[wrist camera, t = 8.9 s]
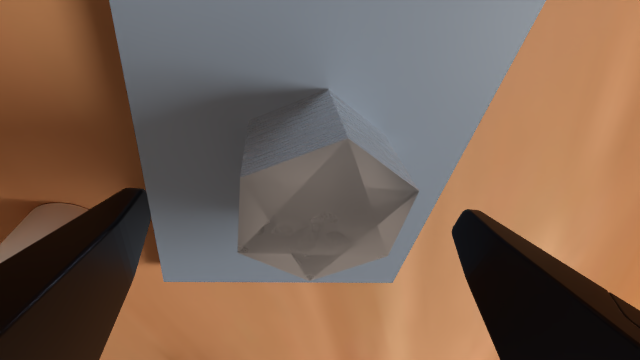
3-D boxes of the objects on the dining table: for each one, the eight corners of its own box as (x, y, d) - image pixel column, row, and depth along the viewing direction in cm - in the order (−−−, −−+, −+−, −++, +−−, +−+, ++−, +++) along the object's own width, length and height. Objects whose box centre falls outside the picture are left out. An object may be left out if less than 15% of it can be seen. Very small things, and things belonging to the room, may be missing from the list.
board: (386, 266, 16) (392, 282, 16) (170, 263, 14) (163, 281, 13) (545, -51, 8) (573, -51, 7) (97, -180, 6) (70, -200, 5)
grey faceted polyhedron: (355, 218, 12) (375, 281, 10) (244, 212, 11) (236, 280, 9) (397, 98, 9) (440, 147, 7) (251, 77, 8) (242, 126, 6)
